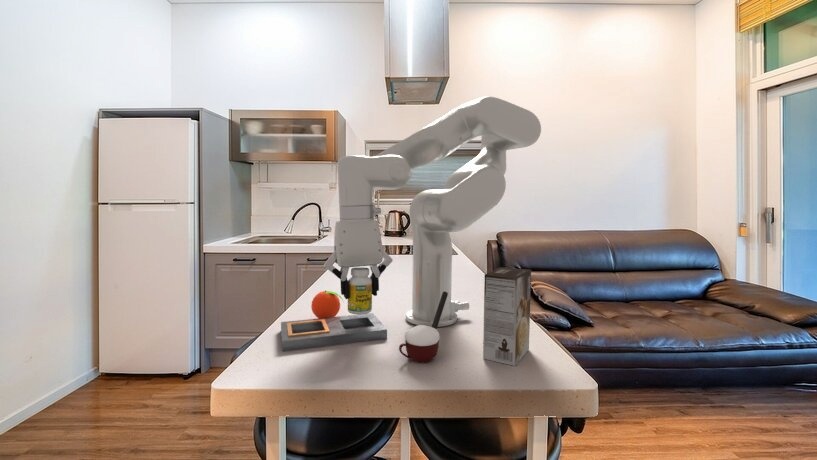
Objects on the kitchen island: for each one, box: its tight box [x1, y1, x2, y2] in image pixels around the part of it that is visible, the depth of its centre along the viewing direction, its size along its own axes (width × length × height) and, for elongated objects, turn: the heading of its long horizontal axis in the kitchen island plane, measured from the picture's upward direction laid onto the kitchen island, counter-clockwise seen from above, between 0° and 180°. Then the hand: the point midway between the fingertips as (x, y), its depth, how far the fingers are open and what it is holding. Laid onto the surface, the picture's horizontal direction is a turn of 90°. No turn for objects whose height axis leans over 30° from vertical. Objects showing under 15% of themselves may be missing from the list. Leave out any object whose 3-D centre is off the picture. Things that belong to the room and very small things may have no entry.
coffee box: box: [482, 266, 533, 367], centre depth 72 cm, size 9×6×16 cm
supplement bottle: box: [347, 266, 373, 315], centre depth 84 cm, size 5×5×10 cm
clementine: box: [310, 290, 344, 319], centre depth 93 cm, size 8×7×7 cm
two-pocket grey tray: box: [280, 312, 388, 352], centre depth 82 cm, size 21×12×2 cm, turn 110°
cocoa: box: [398, 291, 448, 364], centre depth 70 cm, size 10×6×12 cm, turn 91°
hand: (360, 295), depth 84 cm, fingers closed on supplement bottle, 5 cm apart
